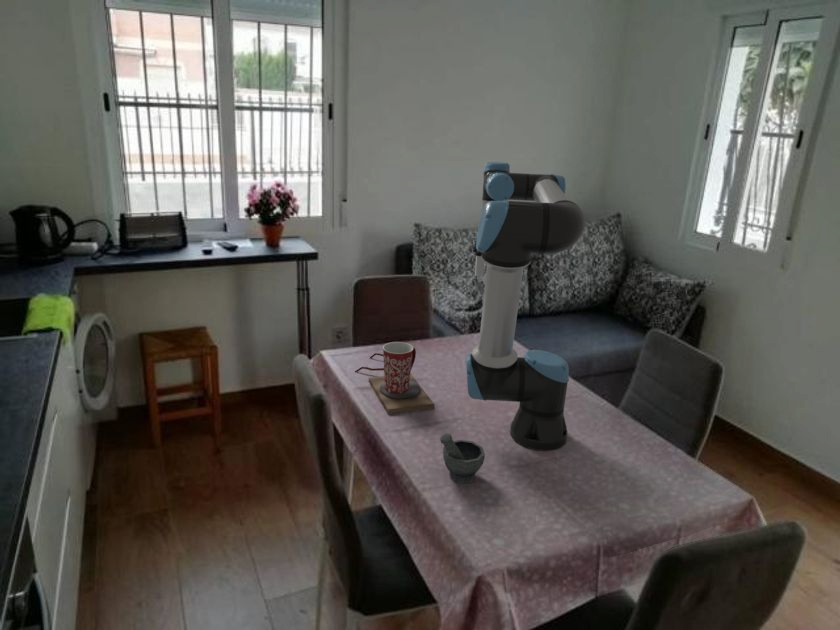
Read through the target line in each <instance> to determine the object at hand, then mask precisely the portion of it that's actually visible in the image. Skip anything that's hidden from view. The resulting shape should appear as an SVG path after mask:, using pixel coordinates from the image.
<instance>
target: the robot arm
mask: <svg viewBox="0 0 840 630" xmlns="http://www.w3.org/2000/svg"><path fill="white" fill-rule="evenodd" d="M510 166H511V165H510V164H509V162H508V163H507V162H502V161H501V162H500V161H488V162H486V163H485V164H484V171H483V184H482V199H481V204H480V206H481V208H480V209H481V210H480V212H481V214H480V218H479V222H478V227H477V235H476V239H475V243H474V246H473V249H472V250H473V251H472V252H473V253H474V254H475V265H474V277H482V276H483V277H484V270H485V269H484V268H485V264H486V271H485V272H486V273H485V279H484V281H485V282H484V291H483V293H484V294H483V301H482V309H481V310H482V311H481V321H480V329H479V330H480V331H479V340H478V344H476V345H475V346H474V347H473V349H472V351H471V352H472V353H469V354H467V355H466V356H465V364H466V365H465V369H466V383H467V393H468V396H469V397H470V398H471V399H474V400H482V401H496V402H498V401H499V402H513V403H514V402H516V403H517V402H519V407H518V409H517V411H516V412H515V415H514V417H513V420H512V421H511V424H510V431H509V432H510V433H509V434H510V437H511V438H512V440H513V441H514V442H516V443H517V444H519V445H521V446H522V447H525V448H529V449H532V450H537V451H553V450H558V449H561V448H562V447H564V446H565V445H566V444H567V440H568V429H567V424H566V419H565V418H566V417H565V415H564V413H565V412H564V411H565V403H566V397H567V390H568V383H569V379H570V378H569V373H570V372H569V371H570V367H569V363H568V362H567V361H566V360H565V359H564V358H562V357H561V356H560V355H557V354H555V353H552V352H550V351H547V350H546V351H545V350H541V349H531V350H527V351H526V352H525V353H524V355H523V357H519V356H518V354H517V353H518V352H517V351H516V349H514V340H515V333H516V326H517V319H518V318H517V317H518V311H519V305H520V304H519V303H520V296H521V289H522V282H523V276H524V275H523V274H524V268H526V267H527V266H529V265H531V262H532V260H533V255H541V256H542V255H549V256H550V255H556V254H559V253H562V252H564V251H567V250H569V249H571V247H573V246H574V245H576V244H577V243H578V241H579V240H580V239H581V237H582V235H583V233H584V231H585V228H586V218H585V215H584V212H583V210H582V208H581V207H580V206H579V205H578V204H576V203H575V202H574V201H572V200H569V199H568V198H569V197H567V196H566V179H565V177H564V176H563V175H560V174H559V175H558V174H554V173H551V174H545V173H543V174H540V173H524V172H523V173H520V172H510V169H511V168H510Z"/></svg>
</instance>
